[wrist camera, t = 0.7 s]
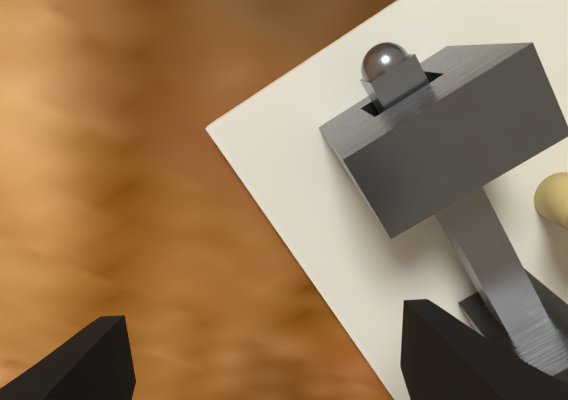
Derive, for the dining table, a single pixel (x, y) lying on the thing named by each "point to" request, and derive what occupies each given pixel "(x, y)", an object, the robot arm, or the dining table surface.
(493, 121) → the eye block
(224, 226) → the dining table surface
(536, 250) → the board
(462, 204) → the upright post with base
